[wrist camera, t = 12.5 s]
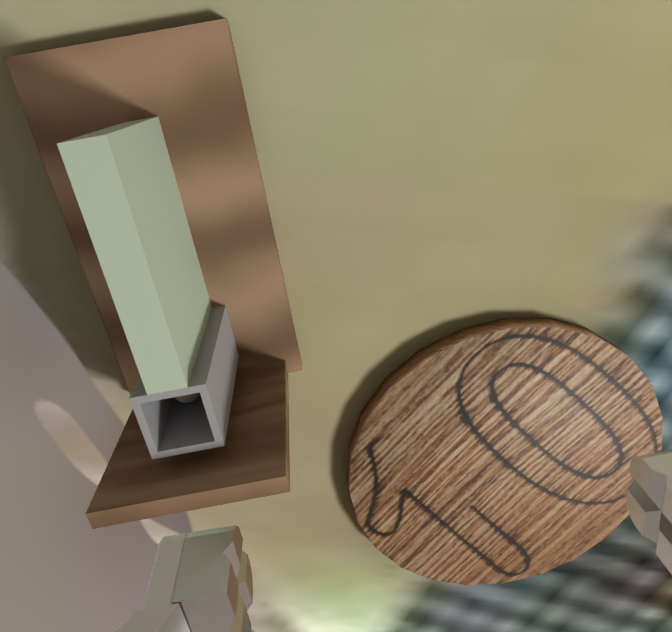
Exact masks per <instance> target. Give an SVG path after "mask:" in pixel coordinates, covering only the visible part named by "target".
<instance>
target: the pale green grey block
mask: <svg viewBox="0 0 672 632" xmlns="http://www.w3.org/2000/svg"><path fill="white" fill-rule="evenodd" d="M57 146H58V149H59V151H60V154H61V157H62V160H63V162H64V165H65V168H66V171H67V174H68V176H69V179H70V182H71V185H72V187H73V190H74V193H75V196H76V199H77V201H78V204H79V207H80V210H81V212H82V215H83V218H84V221H85V224H86V226H87V229H88V232H89V235H90V237H91V240H92V243H93V246H94V249H95V251H96V254H97V257H98V260H99V262H100V265H101V268H102V271H103V273H104V276H105V279H106V282H107V285H108V287H109V290H110V293H111V296H112V298H113V301H114V304H115V307H116V310H117V312H118V315H119V318H120V321H121V323H122V326H123V329H124V332H125V335H126V337H127V340H128V343H129V346H130V348H131V351H132V354H133V357H134V360H135V362H136V365H137V368H138V371H139V373H140V376H139V379H138V381H137V383H136V385H135V387H134V389H133V391H132V393H131V395H130V397H129V399H130V402H131V405H132V407H133V410H134V413H135V415H136V418H137V421H138V423H139V426H140V429H141V431H142V434H143V436H144V439H145V442H146V444H147V447H148V450H149V452H150V455H151V458H152V460H153V459H158V458H163V457H169V456H174V455H179V454H185V453H190V452H195V451H201V450H206V449H211V448H217V447H222V446H225V440H226V434H227V428H228V421H229V415H230V409H231V402H232V396H233V390H234V383H235V377H236V371H237V364H238V358H239V354H238V350H237V347H236V343H235V339H234V336H233V332H232V328H231V324H230V321H229V317H228V313H227V310H226V306H219V307H214V308H212V307H211V303H210V299H209V296H208V292H207V289H206V285H205V282H204V278H203V275H202V271H201V267H200V264H199V260H198V257H197V253H196V250H195V246H194V242H193V239H192V235H191V232H190V228H189V225H188V221H187V218H186V214H185V210H184V207H183V203H182V200H181V196H180V193H179V189H178V185H177V182H176V178H175V175H174V171H173V168H172V164H171V160H170V157H169V153H168V150H167V146H166V143H165V139H164V136H163V132H162V128H161V125H160V121H159V118H158V117H152V118H146V119H141V120H135V121H130V122H124V123H120V124H117V125H114V126H111V127H108V128H105V129H101V130H98V131H95V132H92V133H89V134H85V135H82V136H79V137H76V138H73V139H69V140H66V141H63V142H60V143H57ZM199 392H200V395H199V397H198V398H197V399H196V400H194V401H192V402H189V403H182V402H179V401H178V400H176V399H175V398H174V397H178V396H183V395H189V394H194V393H199Z"/></svg>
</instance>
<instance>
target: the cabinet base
mask: <svg viewBox="0 0 672 632" xmlns="http://www.w3.org/2000/svg"><path fill="white" fill-rule="evenodd" d="M4 59H5V62H6V64H7V67H8V70H9V72H10V75H11V78H12V80H13V83H14V86H15V88H16V91H17V94H18V96H19V99H20V102H21V104H22V107H23V110H24V112H25V115H26V118H27V120H28V123H29V126H30V128H31V131H32V134H33V136H34V139H35V142H36V144H37V147H38V150H39V152H40V155H41V158H42V160H43V163H44V166H45V168H46V171H47V174H48V176H49V179H50V182H51V184H52V187H53V190H54V192H55V195H56V198H57V200H58V203H59V206H60V208H61V211H62V214H63V216H64V219H65V222H66V224H67V227H68V230H69V232H70V235H71V238H72V240H73V243H74V246H75V248H76V251H77V254H78V256H79V259H80V262H81V264H82V267H83V270H84V272H85V275H86V278H87V280H88V283H89V286H90V288H91V291H92V294H93V296H94V299H95V302H96V304H97V307H98V310H99V312H100V315H101V318H102V320H103V323H104V326H105V328H106V331H107V334H108V336H109V339H110V342H111V344H112V347H113V350H114V352H115V355H116V358H117V360H118V363H119V366H120V368H121V371H122V374H123V376H124V379H125V382H126V384H127V387H128V390H129V392H130V395H131V393H132V391H133V389H134V387H135V385H136V383H137V381H138V379H139V376H140V373H139V371H138V368H137V365H136V362H135V360H134V357H133V354H132V351H131V348H130V346H129V343H128V340H127V337H126V335H125V332H124V329H123V326H122V323H121V321H120V318H119V315H118V312H117V310H116V307H115V304H114V301H113V298H112V296H111V293H110V290H109V287H108V285H107V282H106V279H105V276H104V273H103V271H102V268H101V265H100V262H99V260H98V257H97V254H96V251H95V249H94V246H93V243H92V240H91V237H90V235H89V232H88V229H87V226H86V224H85V221H84V218H83V215H82V212H81V210H80V207H79V204H78V201H77V199H76V196H75V193H74V190H73V187H72V185H71V182H70V179H69V176H68V174H67V171H66V168H65V165H64V162H63V160H62V157H61V154H60V151H59V149H58V146H57V143H60V142H63V141H66V140H69V139H73V138H76V137H79V136H82V135H85V134H89V133H92V132H95V131H98V130H101V129H105V128H108V127H111V126H114V125H117V124H120V123H124V122H130V121H135V120H141V119H146V118H152V117H158V118H159V121H160V125H161V128H162V132H163V136H164V139H165V143H166V146H167V150H168V153H169V157H170V160H171V164H172V168H173V171H174V175H175V178H176V182H177V185H178V189H179V193H180V196H181V200H182V203H183V207H184V210H185V214H186V218H187V221H188V225H189V228H190V232H191V235H192V239H193V242H194V246H195V250H196V253H197V257H198V260H199V264H200V267H201V271H202V275H203V278H204V282H205V285H206V289H207V292H208V296H209V299H210V303H211V307H212V308H214V307H219V306H226V310H227V313H228V317H229V321H230V324H231V328H232V332H233V336H234V339H235V343H236V347H237V350H238V354H239V358H238V364H237V371H236V377H235V383H234V390H233V396H232V402H231V409H230V415H229V421H228V428H227V434H226V440H225V446H222V447H217V448H211V449H206V450H201V451H195V452H190V453H185V454H179V455H174V456H169V457H163V458H158V459H153V460H152V458H151V455H150V452H149V450H148V447H147V444H146V442H145V439H144V436H143V434H142V431H141V429H140V426H139V423H138V421H137V418H136V415H135V413H134V410H132V412H131V414H130V416H129V418H128V421H127V423H126V425H125V428H124V430H123V432H122V434H121V436H120V438H119V441H118V443H117V445H116V448H115V450H114V452H113V454H112V457H111V459H110V461H109V463H108V465H107V467H106V470H105V472H104V474H103V476H102V479H101V481H100V483H99V485H98V488H97V490H96V492H95V494H94V497H93V499H92V501H91V503H90V505H89V508H88V510H87V512H86V516H87V518H88V520H89V522H90V524H91V526H92V528H93V529H94V528H100V527H105V526H110V525H116V524H121V523H126V522H132V521H137V520H142V519H148V518H153V517H158V516H163V515H169V514H174V513H179V512H185V511H190V510H195V509H201V508H206V507H211V506H216V505H222V504H227V503H232V502H238V501H243V500H248V499H254V498H259V497H264V496H270V495H275V494H280V493H285V492H290V467H289V397H288V373H289V372H295V371H300V370H302V362H301V357H300V353H299V348H298V343H297V339H296V334H295V329H294V325H293V320H292V316H291V311H290V306H289V302H288V297H287V292H286V288H285V283H284V278H283V274H282V269H281V265H280V260H279V255H278V251H277V246H276V241H275V237H274V232H273V227H272V223H271V218H270V214H269V209H268V204H267V200H266V195H265V190H264V186H263V181H262V176H261V172H260V167H259V163H258V158H257V153H256V149H255V144H254V139H253V135H252V130H251V125H250V121H249V116H248V112H247V107H246V102H245V98H244V93H243V88H242V84H241V79H240V74H239V70H238V65H237V61H236V56H235V51H234V47H233V42H232V37H231V33H230V28H229V23H228V20H227V19H226V18H225V19H219V20H214V21H208V22H202V23H197V24H191V25H185V26H180V27H174V28H168V29H163V30H157V31H151V32H146V33H140V34H134V35H129V36H123V37H118V38H112V39H106V40H101V41H95V42H89V43H84V44H78V45H72V46H67V47H61V48H55V49H50V50H44V51H38V52H33V53H27V54H21V55H16V56H10V57H5V58H4ZM199 395H200V392H199V393H194V394H189V395H183V396H178V397H174V398H175V399H176V400H178V401H179V402H182V403H189V402H192V401H194V400H196V399H197V398H198V397H199Z"/></svg>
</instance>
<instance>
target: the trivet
mask: <svg viewBox="0 0 672 632" xmlns="http://www.w3.org/2000/svg"><path fill="white" fill-rule="evenodd" d="M661 448H662V414H661V411H660V408H659V405H658V402H657V399H656V396H655V392H654V389H653V386H652V384H651V383H650V382H649V380H648V379H647V378H646V377H645V375H644V374H643V373H642V372H641V370H640V369H639V368H638V367H637V365H636V364H635V363H634V362H633V360H632V359H631V358H630V357H629V356H628V355H626V354H625V353H624V352H623V351H622V350H620V349H619V348H618V347H616V346H615V345H613V344H611V343H610V342H608V341H607V340H605V339H603V338H602V337H600V336H599V335H597V334H595V333H594V332H592V331H591V330H589V329H587V328H584V327H580V326H576V325H572V324H568V323H565V322H561V321H557V320H553V319H550V318H504V319H500V320H496V321H492V322H488V323H484V324H480V325H476V326H472V327H468V328H464V329H460V330H458V331H456V332H454V333H452V334H450V335H448V336H446V337H444V338H442V339H440V340H438V341H436V342H434V343H432V344H430V345H428V346H426V347H424V348H422V349H420V350H419V351H418V352H416V353H415V354H414V355H413V356H412V357H410V358H409V359H408V360H407V361H406V362H404V363H403V364H402V365H401V366H400V367H399V368H397V369H396V370H395V371H394V372H393V373H391V374H390V375H389V376H388V377H387V378H386V379H385V380H384V381H383V383H382V384H381V385H380V387H379V388H378V390H377V391H376V392H375V394H374V395H373V396H372V398H371V399H370V401H369V402H368V403H367V405H366V406H365V407H364V409H363V410H362V412H361V415H360V417H359V420H358V423H357V425H356V428H355V431H354V433H353V436H352V439H351V441H350V444H349V456H348V475H347V480H348V487H349V493H350V496H351V500H352V503H353V507H354V510H355V514H356V517H357V521H358V523H359V525H360V526H361V528H362V529H363V530H364V532H365V533H366V535H367V536H368V537H369V539H370V540H371V542H372V543H373V545H374V546H375V547H376V549H378V550H379V551H380V552H382V553H383V554H384V555H386V556H387V557H388V558H390V559H391V560H392V561H394V562H395V563H396V564H398V565H399V566H400V567H402V568H404V569H407V570H409V571H412V572H414V573H417V574H419V575H422V576H424V577H426V578H429V579H431V580H437V581H444V582H450V583H457V584H463V585H477V584H497V583H506V582H510V581H514V580H518V579H522V578H527V577H531V576H535V575H539V574H541V573H544V572H546V571H548V570H551V569H553V568H555V567H557V566H560V565H562V564H564V563H567V562H569V561H571V560H573V559H575V558H576V557H578V556H579V555H581V554H582V553H584V552H585V551H587V550H588V549H590V548H591V547H593V546H594V545H596V544H597V543H599V542H600V541H602V540H603V539H605V538H606V537H607V536H608V535H609V534H610V533H611V532H612V531H613V530H614V529H615V528H616V527H617V526H618V525H619V524H620V523H621V522H622V521H623V520H624V519H625V518H626V517H627V516H628V515H629V511H628V507H627V503H626V496H627V488H628V487H629V486H630V484H631V483H632V482H633V481H634V480H635V479H634V478H633V476H632V475H631V474H630V473H629V467H630V462H631V460H632V459H633V457H635V456H641V455H646V454H652V453H657V452H661Z"/></svg>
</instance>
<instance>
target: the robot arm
mask: <svg viewBox="0 0 672 632" xmlns="http://www.w3.org/2000/svg"><path fill="white" fill-rule="evenodd" d="M629 473H630V474H631V475H632V476H633V478H634V479H635V480H634V481H633V482H632V483H631V484H630V486H629V487H628V488H627V496H626V503H627V507H628V511H629V515H630V517H631V519H632V521H633V523H634V525H635V526H636V528H637V529H638V530H639V532H640V533H641V535H642V536H644V537H646V538H648V539H650V540H652V541H653V542H655V543H657V544H656V555H657V556H658V557H659V559H660V560H661V561H662V563H663V564H664V565H665V567H666V568H667V569H668V571H669V572H670V573H671V575H672V450H668V451H662V452H657V453H652V454H646V455H641V456H635V457H633V459H632V460H631V462H630V467H629ZM242 541H243V538H242V535H241V532H240V529H239V527H238V526H231V527H224V528H217V529H210V530H203V531H197V532H190V533H188V534H180V535H173V536H166V537H163V539H162V540H161V542H160V543H159V546H158V550H157V554H156V558H155V562H154V565H153V569H152V573H151V577H150V581H149V584H148V589H147V592H146V596H145V600H144V604H143V607H142V609H141V610H135V611H134V612H133V613H132V614H131V615H130V616H129V617H128V619H127V620H126V621H125V622H124V623H123V624H122V625H121V626H120V628H119V629H118V630H117V631H116V632H251V623H250V620H249V616H248V613H247V610H248V609H249V607H250V606H251V605H252V599H253V583H252V572H251V566H250V562H249V558H248V555H247V554H246V553H245V552H243V551H242Z"/></svg>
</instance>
